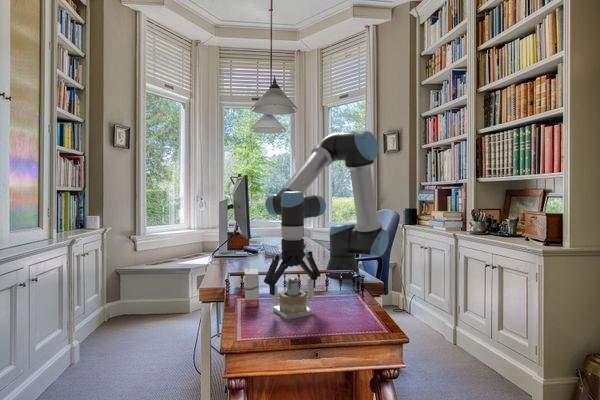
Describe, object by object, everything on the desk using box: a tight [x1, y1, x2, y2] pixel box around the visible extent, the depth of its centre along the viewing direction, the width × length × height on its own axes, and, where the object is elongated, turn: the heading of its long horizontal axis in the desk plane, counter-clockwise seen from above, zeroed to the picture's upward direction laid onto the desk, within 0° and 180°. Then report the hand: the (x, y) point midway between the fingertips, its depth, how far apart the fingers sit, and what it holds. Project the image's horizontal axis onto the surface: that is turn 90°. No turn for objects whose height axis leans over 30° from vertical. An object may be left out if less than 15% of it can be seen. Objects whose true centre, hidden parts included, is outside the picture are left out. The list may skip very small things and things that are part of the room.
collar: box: [278, 289, 308, 313], centre depth 143 cm, size 8×8×5 cm
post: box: [272, 277, 315, 321], centre depth 143 cm, size 10×10×12 cm
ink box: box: [244, 268, 260, 308], centre depth 153 cm, size 9×5×12 cm, turn 5°
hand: (293, 301), depth 143 cm, fingers open, 13 cm apart
